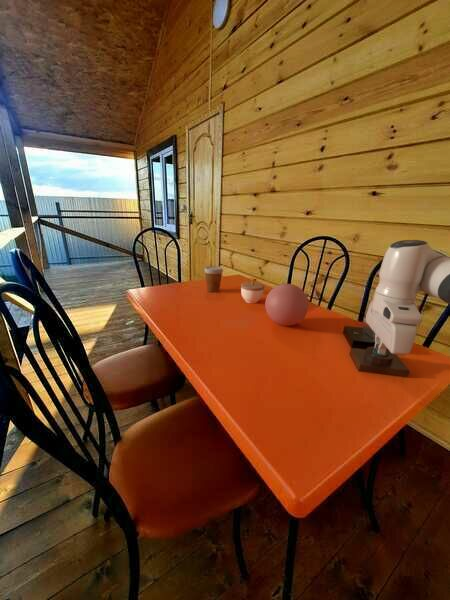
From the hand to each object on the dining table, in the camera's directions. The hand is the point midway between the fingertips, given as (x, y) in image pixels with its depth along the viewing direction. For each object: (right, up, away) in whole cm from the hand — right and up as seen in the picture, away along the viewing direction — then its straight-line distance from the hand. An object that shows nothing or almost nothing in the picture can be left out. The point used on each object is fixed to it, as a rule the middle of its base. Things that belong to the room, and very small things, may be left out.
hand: (379, 351), depth 70 cm
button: (0, -2, 0) cm, 2 cm away
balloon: (-18, +5, +27) cm, 33 cm away
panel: (+4, 0, +14) cm, 14 cm away
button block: (0, -4, +1) cm, 4 cm away
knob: (+5, +3, +12) cm, 14 cm away
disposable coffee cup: (-49, +19, +63) cm, 82 cm away
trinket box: (-30, +14, +49) cm, 59 cm away
